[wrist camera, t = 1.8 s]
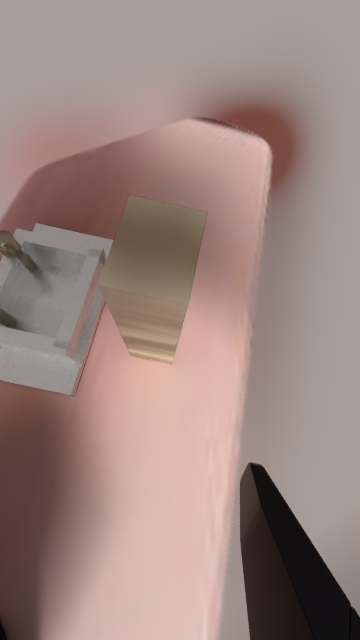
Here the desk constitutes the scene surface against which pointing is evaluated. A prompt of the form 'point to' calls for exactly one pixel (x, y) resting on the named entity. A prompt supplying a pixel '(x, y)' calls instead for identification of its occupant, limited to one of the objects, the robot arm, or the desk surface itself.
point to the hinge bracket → (49, 305)
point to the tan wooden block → (152, 274)
